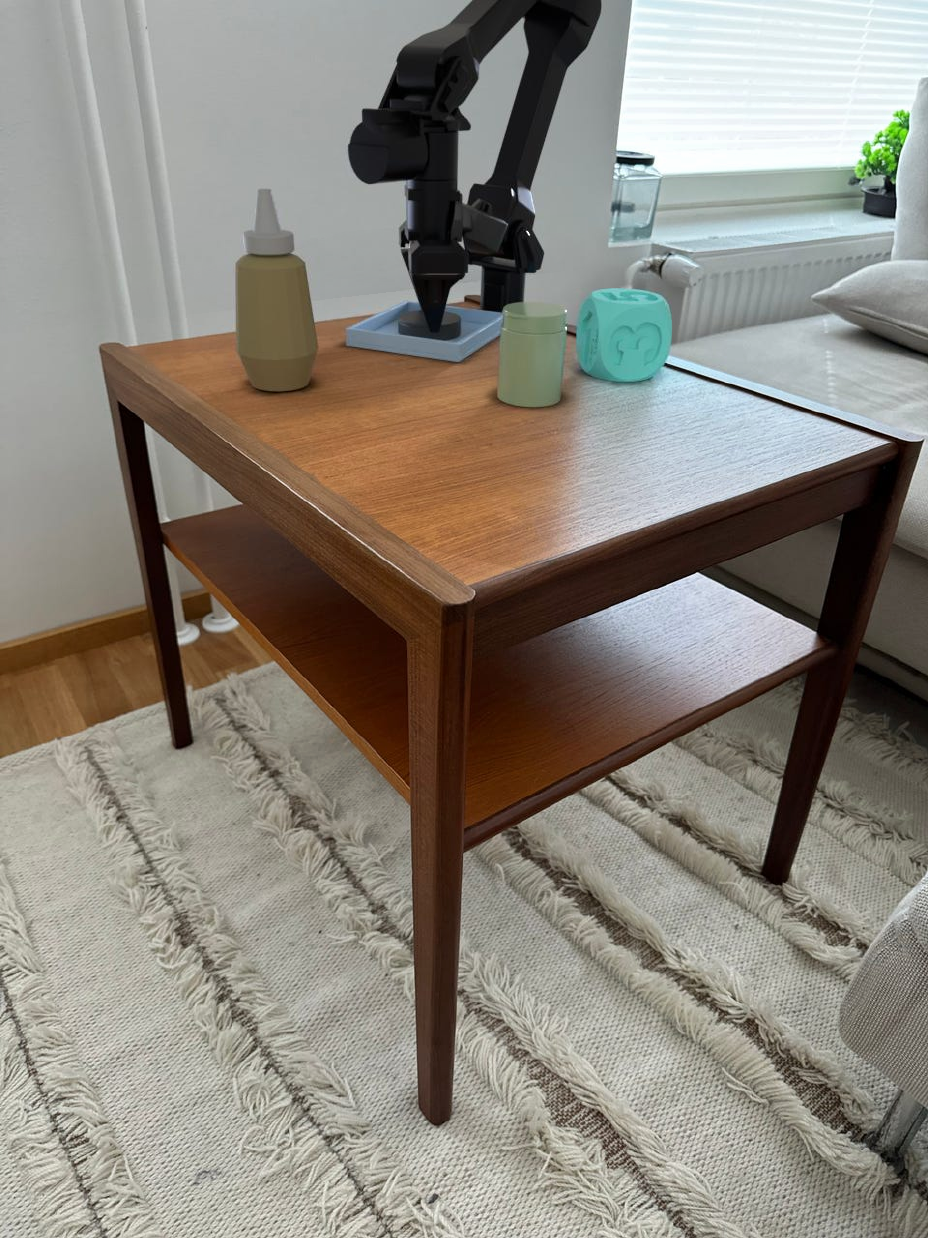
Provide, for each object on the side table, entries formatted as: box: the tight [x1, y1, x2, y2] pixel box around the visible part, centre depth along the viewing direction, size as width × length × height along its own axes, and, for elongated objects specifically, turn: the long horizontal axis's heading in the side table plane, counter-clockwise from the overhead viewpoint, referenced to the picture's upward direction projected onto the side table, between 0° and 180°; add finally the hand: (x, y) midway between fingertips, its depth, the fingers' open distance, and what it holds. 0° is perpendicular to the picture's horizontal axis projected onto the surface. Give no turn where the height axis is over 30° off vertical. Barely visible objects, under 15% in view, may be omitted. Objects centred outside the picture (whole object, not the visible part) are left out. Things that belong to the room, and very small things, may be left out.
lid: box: [398, 310, 461, 341], centre depth 107 cm, size 8×8×2 cm
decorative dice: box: [575, 287, 673, 383], centre depth 96 cm, size 8×8×8 cm
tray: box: [345, 300, 503, 363], centre depth 107 cm, size 16×14×2 cm
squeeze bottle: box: [234, 188, 319, 392], centre depth 86 cm, size 8×8×18 cm
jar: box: [496, 301, 568, 408], centre depth 88 cm, size 6×6×9 cm
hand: (430, 322), depth 107 cm, fingers open, 9 cm apart
